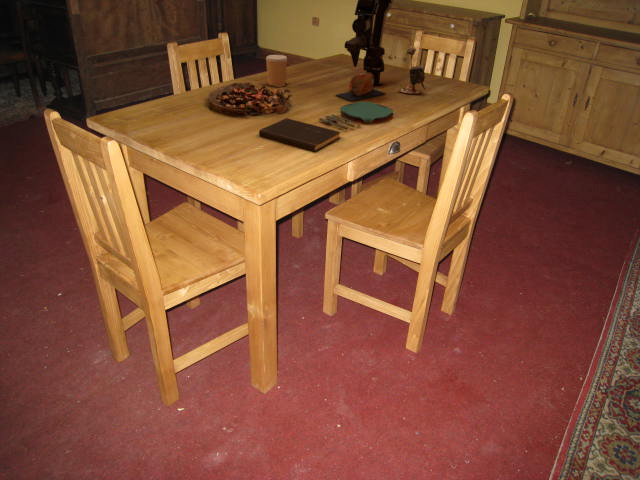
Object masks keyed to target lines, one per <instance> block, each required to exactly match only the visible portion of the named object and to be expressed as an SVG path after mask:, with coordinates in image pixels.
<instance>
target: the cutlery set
mask: <svg viewBox="0 0 640 480" xmlns="http://www.w3.org/2000/svg"><path fill="white" fill-rule="evenodd" d="M339 111H340V113H341V114H344V115H345V116H347V117H349V118H352V119H355V120H361V121H363V122H364V123H365V124H366V125H367V124H370V123H372V122H373V121H379V120H380V121H381V120H384V119H388V118H390V117H392V116H393V115H394V111H393V109H392V108H390V107H387V106H385V105H382V104H378V103H375V102H370V101H355V102H351V103H348V104H345V105H342V106H341V107H340V110H339ZM324 117H325V119H324V118H322V117H321V118H318V121H321V122H322V123H324V124H327V125H330V124H331V125H333V126H335V127H337V128H341V129H343V130H346V131H347V130H348V129H349V127H351V128H355V126H356V125H357V126H358V127H361V124H359V123H356V122H354V121H352V120H350V119H348V118H344V117H342V116H339V115H336V114H331V115H325V116H324ZM341 120H342V121H341ZM335 122H337V123H335ZM339 123H340V124H339ZM341 124H343V125H341Z"/></svg>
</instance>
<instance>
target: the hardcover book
mask: <svg viewBox="0 0 640 480" xmlns="http://www.w3.org/2000/svg"><path fill="white" fill-rule="evenodd" d="M340 134H341V131H338V130H334V129H330V128H327V127H323V126H319V125H315V124H311V123H307V122H304V121H299V120H296V119H292V118H289V117H286V118H283V119H281V120H279V121H277V122H274V123H272V124H270V125H268V126H265V127H262V128H261V129H259V131H258V135H259V137H263V138H266V139H269V140H272V141H276V142H279V143H283V144H286V145H290V146H294V147H297V148H300V149H304V150H308V151H310V152H311V151H312V152H318V151H320V150H321V149H324V148H325V147H327V146H329V145H330V144H332V143H334V142H336V141H338V140H340V139H341V137H340Z"/></svg>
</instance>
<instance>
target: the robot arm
mask: <svg viewBox="0 0 640 480" xmlns="http://www.w3.org/2000/svg"><path fill="white" fill-rule="evenodd" d="M393 3H394V0H357V1H356V7H355V9H354V10H355V11H354V16H357V18H355V19H354V20H353V21H352V24H351V28H352V31H353V32H354V33H355V36H354V37H352V38H350V39H348V40H346V41H345V42H344V47H343V48H344V49H346V51H347V52H348V53H349V54H350V56H351V60H352V64H353V67H354V68H357V66H358V63H359V59H360V54H361V51H365V55H364V57H363V62H362V63H363V71H365V72H367V73H372V74H373V75H374V86H373V87H377V86H380V85H381V86H382V85H383V82H381V73H384V72H385V62H384V61H385V60H384V55H385V53H386V49H385V47H382V42H383V36H384V30H385V23H386V17H387V14H388V12H389V11H390V10H391V9H392V4H393Z"/></svg>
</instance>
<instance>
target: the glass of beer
mask: <svg viewBox="0 0 640 480" xmlns="http://www.w3.org/2000/svg"><path fill="white" fill-rule="evenodd" d="M265 60H266V61H265V63H266V74H267V86H270V85H269V84H271V85H278V86H279V87H278V88H280V87H285V85H286V81H287V67H288V58H287V56H286V55H282V54H269V55H267V56H266V57H265ZM273 87H274V86H273ZM273 87H272V88H273ZM274 88H275V87H274Z"/></svg>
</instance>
